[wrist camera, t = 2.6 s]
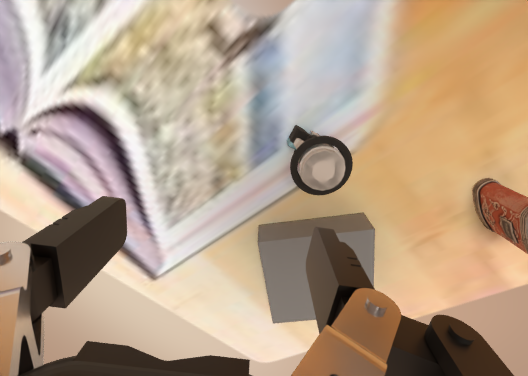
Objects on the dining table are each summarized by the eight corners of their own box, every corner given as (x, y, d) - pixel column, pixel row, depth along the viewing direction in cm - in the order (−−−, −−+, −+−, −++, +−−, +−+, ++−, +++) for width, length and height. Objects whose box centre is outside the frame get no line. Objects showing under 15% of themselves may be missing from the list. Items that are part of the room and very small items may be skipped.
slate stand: (363, 212, 34) (374, 229, 31) (363, 292, 40) (372, 314, 36) (258, 225, 35) (257, 242, 32) (272, 301, 41) (273, 323, 37)
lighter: (467, 186, 33) (545, 229, 23) (495, 172, 32) (587, 212, 23) (483, 232, 35) (559, 287, 26) (510, 221, 34) (597, 274, 25)
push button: (348, 138, 30) (382, 164, 21) (324, 176, 32) (345, 215, 23) (299, 111, 29) (312, 127, 20) (276, 152, 31) (280, 183, 22)
